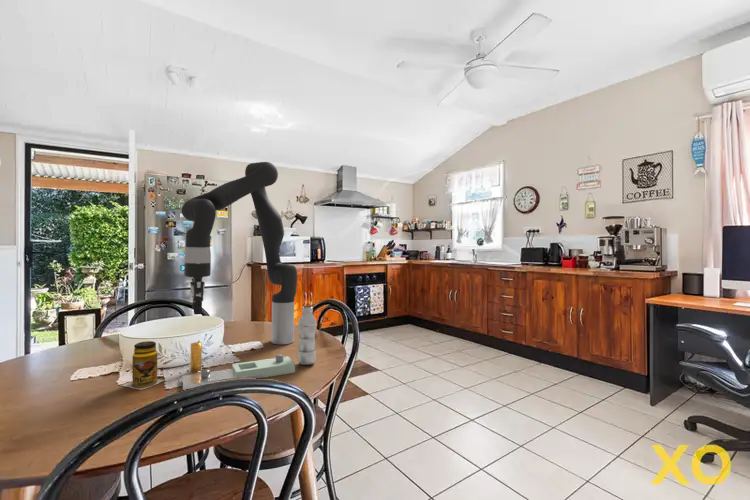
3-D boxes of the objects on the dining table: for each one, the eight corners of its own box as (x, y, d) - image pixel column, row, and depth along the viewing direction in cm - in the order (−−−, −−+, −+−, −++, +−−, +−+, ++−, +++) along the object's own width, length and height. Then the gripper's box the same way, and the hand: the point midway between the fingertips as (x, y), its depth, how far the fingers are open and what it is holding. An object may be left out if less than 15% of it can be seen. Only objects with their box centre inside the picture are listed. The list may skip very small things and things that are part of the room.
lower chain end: (182, 380, 105) (182, 369, 105) (258, 369, 116) (258, 358, 116) (182, 390, 98) (183, 378, 98) (263, 377, 109) (263, 366, 109)
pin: (190, 370, 114) (190, 342, 114) (201, 368, 116) (201, 341, 115) (190, 373, 111) (190, 345, 111) (201, 372, 113) (202, 344, 113)
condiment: (142, 390, 98) (142, 347, 98) (120, 386, 101) (120, 344, 101) (165, 381, 105) (165, 341, 105) (143, 377, 108) (144, 338, 107)
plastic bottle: (318, 361, 126) (319, 305, 125) (312, 367, 119) (314, 309, 119) (300, 360, 126) (301, 304, 126) (294, 366, 119) (295, 308, 119)
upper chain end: (232, 373, 112) (232, 357, 112) (287, 364, 121) (288, 350, 121) (236, 382, 105) (236, 365, 105) (294, 372, 114) (295, 357, 114)
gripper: (183, 260, 117) (183, 308, 117) (185, 262, 105) (184, 316, 105) (208, 260, 121) (207, 307, 121) (212, 262, 109) (211, 315, 109)
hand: (196, 311), depth 113 cm, fingers open, 8 cm apart
